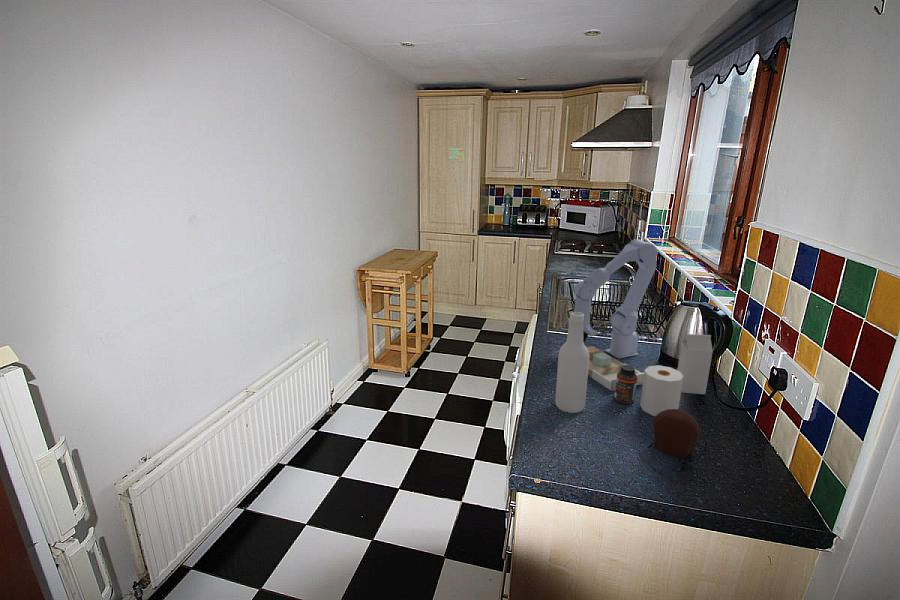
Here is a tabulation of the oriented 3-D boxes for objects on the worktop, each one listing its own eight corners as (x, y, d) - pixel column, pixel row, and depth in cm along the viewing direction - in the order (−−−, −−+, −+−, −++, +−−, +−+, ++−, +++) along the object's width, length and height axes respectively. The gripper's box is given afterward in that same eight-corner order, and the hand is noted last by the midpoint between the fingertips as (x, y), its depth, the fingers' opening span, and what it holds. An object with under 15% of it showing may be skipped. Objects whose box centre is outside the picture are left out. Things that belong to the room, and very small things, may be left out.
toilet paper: (683, 409, 135) (689, 373, 132) (667, 422, 129) (673, 384, 125) (650, 396, 143) (655, 362, 139) (634, 408, 136) (638, 372, 132)
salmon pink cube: (592, 353, 168) (592, 346, 167) (599, 358, 164) (600, 350, 163) (582, 355, 167) (582, 348, 166) (589, 360, 163) (590, 352, 162)
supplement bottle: (612, 402, 140) (616, 369, 136) (615, 393, 145) (619, 361, 141) (633, 406, 137) (637, 373, 134) (635, 397, 142) (639, 365, 139)
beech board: (598, 356, 172) (599, 350, 172) (624, 371, 160) (625, 364, 159) (568, 361, 168) (568, 355, 167) (591, 378, 155) (592, 371, 154)
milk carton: (705, 394, 143) (715, 339, 138) (681, 392, 145) (689, 338, 139) (698, 384, 150) (707, 331, 144) (675, 382, 151) (683, 330, 146)
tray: (624, 371, 160) (625, 361, 159) (645, 383, 151) (646, 372, 150) (591, 378, 155) (592, 367, 154) (611, 391, 146) (612, 380, 145)
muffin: (656, 429, 125) (661, 397, 122) (701, 444, 119) (707, 411, 116) (643, 450, 117) (648, 416, 114) (690, 467, 110) (696, 431, 107)
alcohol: (571, 396, 143) (578, 307, 134) (591, 409, 135) (599, 316, 127) (549, 403, 140) (554, 311, 131) (567, 416, 132) (575, 320, 123)
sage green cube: (602, 360, 163) (603, 352, 162) (610, 365, 159) (611, 357, 158) (592, 361, 162) (593, 354, 161) (600, 367, 157) (601, 359, 157)
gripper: (561, 309, 173) (559, 342, 177) (585, 321, 160) (582, 356, 164) (577, 307, 175) (574, 339, 179) (601, 319, 162) (598, 353, 166)
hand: (579, 347), depth 172 cm, fingers closed
